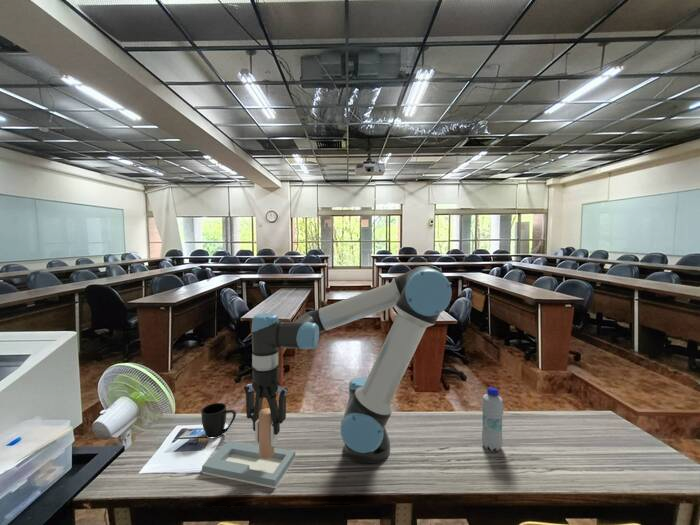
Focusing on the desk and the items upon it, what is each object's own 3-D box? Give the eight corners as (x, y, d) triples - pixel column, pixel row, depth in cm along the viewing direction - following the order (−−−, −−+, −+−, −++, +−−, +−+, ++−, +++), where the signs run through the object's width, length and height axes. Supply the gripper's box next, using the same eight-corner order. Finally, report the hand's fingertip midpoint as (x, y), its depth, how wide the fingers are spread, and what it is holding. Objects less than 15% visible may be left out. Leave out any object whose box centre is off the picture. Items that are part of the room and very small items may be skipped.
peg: (276, 450, 98) (276, 409, 98) (269, 459, 94) (269, 416, 94) (263, 448, 100) (263, 407, 99) (256, 457, 95) (255, 414, 95)
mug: (230, 442, 111) (229, 415, 110) (197, 440, 112) (196, 413, 111) (240, 428, 119) (240, 403, 118) (210, 427, 120) (209, 402, 120)
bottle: (492, 438, 111) (492, 382, 110) (507, 450, 105) (508, 390, 104) (476, 443, 109) (477, 385, 108) (491, 455, 102) (492, 393, 101)
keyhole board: (295, 458, 102) (295, 451, 102) (275, 488, 89) (275, 480, 89) (229, 447, 108) (229, 440, 108) (202, 473, 95) (202, 465, 95)
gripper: (297, 364, 97) (298, 439, 98) (246, 359, 101) (247, 431, 102) (286, 374, 90) (287, 455, 91) (232, 367, 94) (233, 445, 95)
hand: (266, 442), depth 97 cm, fingers closed on peg, 4 cm apart
